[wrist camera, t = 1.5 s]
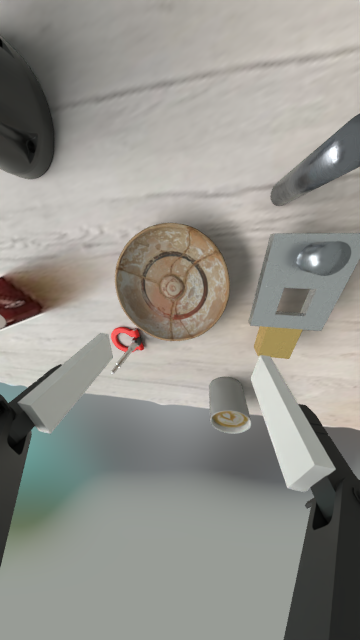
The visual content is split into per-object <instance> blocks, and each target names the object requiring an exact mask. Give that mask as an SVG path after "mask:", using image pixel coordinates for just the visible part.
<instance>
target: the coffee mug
mask: <svg viewBox="0 0 360 640" xmlns="http://www.w3.org/2000/svg"><path fill="white" fill-rule="evenodd" d="M209 398H210V422H211V424H212V426H213V427H214V428H216V429H218V430H219V431H222V432H225V433H241V432H244V431H246V430H248V429H249V428H250V426H251V420H250V416H249V411H248V408H247V404H246V400H245V396H244V392H243V388H242V385H241V384H240V382H239V381H237V380H235V379H233V378H230V377H220V378H217V379H214V380H213V381H212V382H211V383H210V385H209Z"/></svg>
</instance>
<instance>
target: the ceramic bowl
mask: <svg viewBox="0 0 360 640" xmlns="http://www.w3.org/2000/svg"><path fill="white" fill-rule="evenodd" d="M115 286H116V293H117V296H118V299H119V302H120V305H121V307H122V309H123V310H124V312H125V313H126V315H127V316H128V318H129V319H130V320H131V321H132V322H133V323H134V324H135V325H136V326H137V327H138V328H139V329H141V330H142V331H144V332H145V333H147V334H149V335H151V336H153V337H155V338H158V339H161V340H166V341H182V340H188V339H192V338H195V337H197V336H200V335H201V334H203V333H205V332H206V331H208V330H209V329H210V328H211V327H212V326H213V325H214V324H215V323H216V322H217V321H218V320H219V318H220V317H221V315H222V314H223V312H224V310H225V307H226V305H227V302H228V298H229V291H230V280H229V273H228V269H227V266H226V263H225V260H224V258H223V256H222V254H221V252H220V251H219V249H218V248H217V246H216V245H215V244H214V243H213V241H212V240H211V239H210V238H208V237H207V236H206V235H205V234H203V233H202V232H200V231H199V230H197V229H195V228H193V227H190V226H187V225H184V224H178V223H162V224H157V225H154V226H151V227H148V228H146V229H144V230H142V231H141V232H139V233H138V234H136V235H135V236H134V237H133V238H132V239H131V240H130V241H129V242H128V243H127V244H126V246H125V247H124V249H123V251H122V252H121V254H120V257H119V259H118V262H117V266H116V272H115Z"/></svg>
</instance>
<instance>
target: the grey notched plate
mask: <svg viewBox="0 0 360 640" xmlns="http://www.w3.org/2000/svg"><path fill="white" fill-rule="evenodd" d="M359 259H360V233H302V234H270V238H269V242H268V246H267V250H266V254H265V258H264V262H263V266H262V270H261V274H260V278H259V282H258V286H257V290H256V294H255V298H254V302H253V306H252V310H251V314H250V318H249V324H250V326H260V328H259V331H258V334H257V338H256V341H255V344H254V349H255V351H256V353H257V355H258V356H260V355H264V356H270V357H275V358H285V359H289V358H290V356H291V354H292V352H293V349H294V347H295V345H296V343H297V341H298V339H299V337H300V334H301V332H302V330H316V331H321V330H322V329H323V327H324V325H325V323H326V321H327V319H328V317H329V315H330V314H331V312H332V310H333V308H334V306H335V304H336V302H337V300H338V299H339V297H340V295H341V293H342V291H343V289H344V287H345V285H346V284H347V282H348V280H349V278H350V276H351V274H352V272H353V270H354V269H355V267H356V265H357V263H358V261H359ZM284 288H301V289H310V290H309V293H308V295H307V297H306V300H305V302H304V304H303V307H302V309H301V311H300V313H295V312H278V311H276V310H277V308H278V305H279V302H280V299H281V296H282V293H283V290H284Z"/></svg>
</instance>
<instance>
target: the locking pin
mask: <svg viewBox="0 0 360 640" xmlns="http://www.w3.org/2000/svg"><path fill="white" fill-rule="evenodd" d="M358 167H360V114H358V115H357V116H355V117H354V118H352V119H351V120H350V121H349V122H348V123H346V124H345V125H344V126H343V127H342V128H341V129H339V130H338V131H337V132H336V133H335V134H334V135H332V136H331V137H330V138H329V139H328V140H327V141H325V142H324V143H323V144H322V145H321V146H320V147H318V148H317V149H316V150H315V151H314V152H313V153H311V154H310V155H309V156H308V157H307V158H306V159H304V160H303V161H302V162H301V163H300V164H299V165H297V166H296V167H295V168H294V169H293V170H292V171H290V172H289V173H288V174H287V175H286V176H285V177H283V178H282V179H281V180H280V181H279V182H278V183H276V185H275V186H274V187H273V189H272V192H271V201H272V203H273V204H274V205H276V206H282V205H284V204H286V203H288V202H290V201H292V200H294V199H296V198H298V197H300V196H302V195H304V194H306V193H308V192H310V191H312V190H314V189H316V188H318V187H320V186H322V185H324V184H326V183H328V182H330V181H332V180H334V179H336V178H338V177H340V176H342V175H344V174H346V173H348V172H350V171H352V170H354V169H356V168H358Z"/></svg>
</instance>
